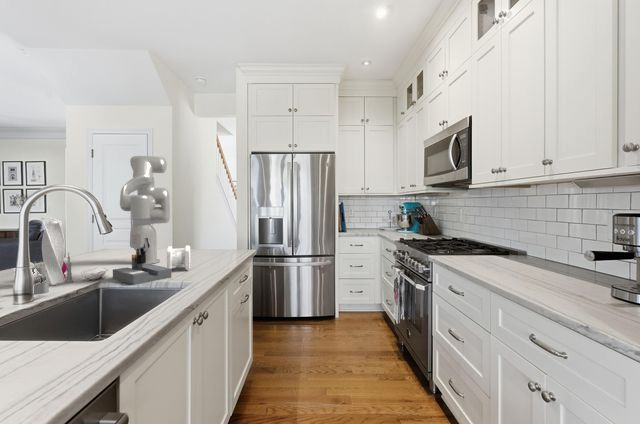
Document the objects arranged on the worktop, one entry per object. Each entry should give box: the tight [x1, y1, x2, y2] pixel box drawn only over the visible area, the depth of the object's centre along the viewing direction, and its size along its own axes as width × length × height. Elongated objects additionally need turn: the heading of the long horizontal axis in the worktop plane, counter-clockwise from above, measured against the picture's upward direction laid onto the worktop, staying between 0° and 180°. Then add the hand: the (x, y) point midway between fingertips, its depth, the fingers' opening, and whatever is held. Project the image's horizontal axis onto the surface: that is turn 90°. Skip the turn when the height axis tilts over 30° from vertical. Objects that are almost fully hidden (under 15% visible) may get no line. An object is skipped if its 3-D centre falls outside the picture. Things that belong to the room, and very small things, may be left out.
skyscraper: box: [40, 216, 74, 287], centre depth 132 cm, size 8×8×28 cm
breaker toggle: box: [131, 253, 143, 271], centre depth 145 cm, size 3×3×8 cm
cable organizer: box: [166, 244, 192, 271], centre depth 161 cm, size 15×11×12 cm
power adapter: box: [30, 260, 50, 295], centre depth 119 cm, size 3×5×12 cm, turn 108°
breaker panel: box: [112, 264, 172, 286], centre depth 142 cm, size 20×16×4 cm
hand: (141, 263), depth 142 cm, fingers closed
